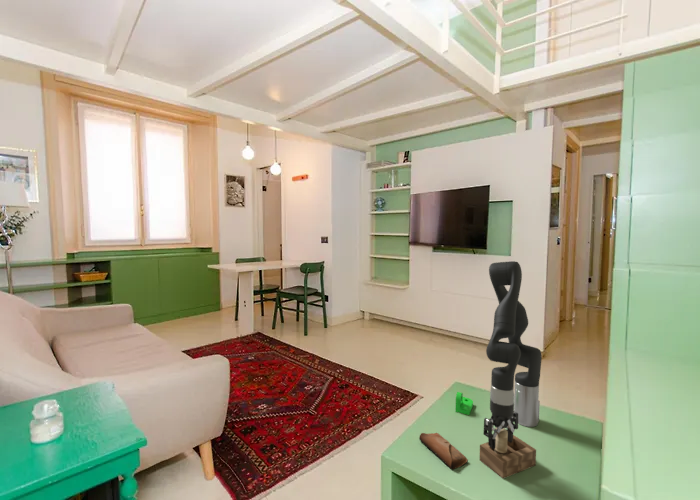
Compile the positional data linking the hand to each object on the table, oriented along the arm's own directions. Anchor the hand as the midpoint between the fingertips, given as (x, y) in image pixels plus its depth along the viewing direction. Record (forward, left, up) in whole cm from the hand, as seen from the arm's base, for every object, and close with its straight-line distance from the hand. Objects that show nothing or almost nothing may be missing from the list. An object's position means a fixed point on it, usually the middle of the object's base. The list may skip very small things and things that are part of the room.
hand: (500, 444), depth 115 cm
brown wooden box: (-3, 0, -8) cm, 9 cm away
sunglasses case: (+12, -14, -9) cm, 20 cm away
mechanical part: (-17, -35, -9) cm, 40 cm away
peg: (0, 0, -7) cm, 7 cm away
